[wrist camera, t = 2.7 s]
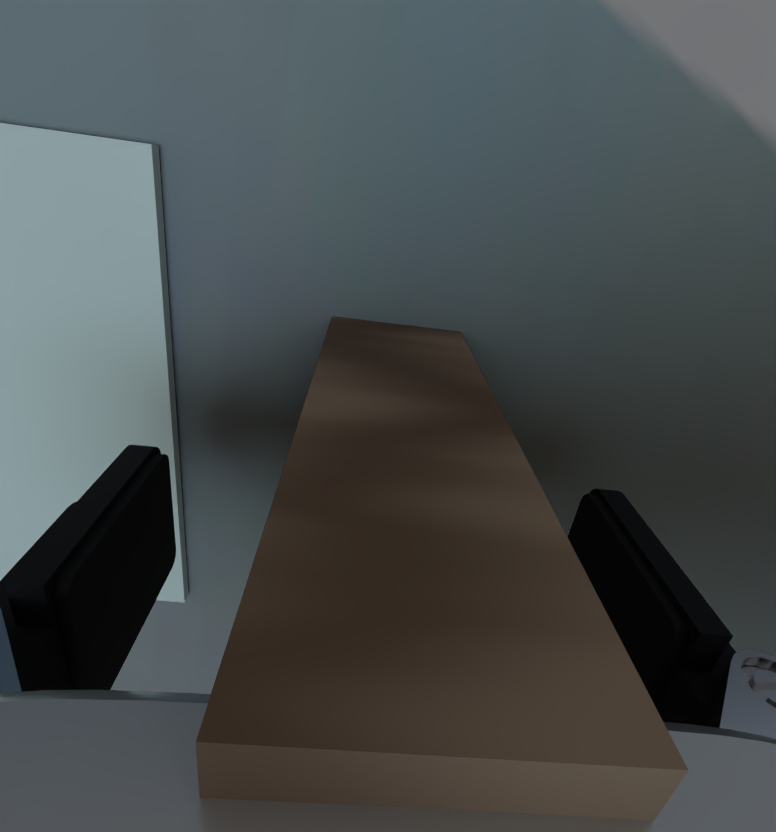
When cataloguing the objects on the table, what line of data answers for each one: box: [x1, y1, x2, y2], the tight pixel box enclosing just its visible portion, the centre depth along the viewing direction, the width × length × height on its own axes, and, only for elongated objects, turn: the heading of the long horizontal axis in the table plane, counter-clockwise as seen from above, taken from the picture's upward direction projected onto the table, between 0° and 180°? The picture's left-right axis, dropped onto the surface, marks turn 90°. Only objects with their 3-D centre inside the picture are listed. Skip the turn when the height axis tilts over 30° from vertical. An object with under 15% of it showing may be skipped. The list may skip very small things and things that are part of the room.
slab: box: [196, 316, 688, 821], centre depth 10 cm, size 4×7×11 cm, turn 173°
